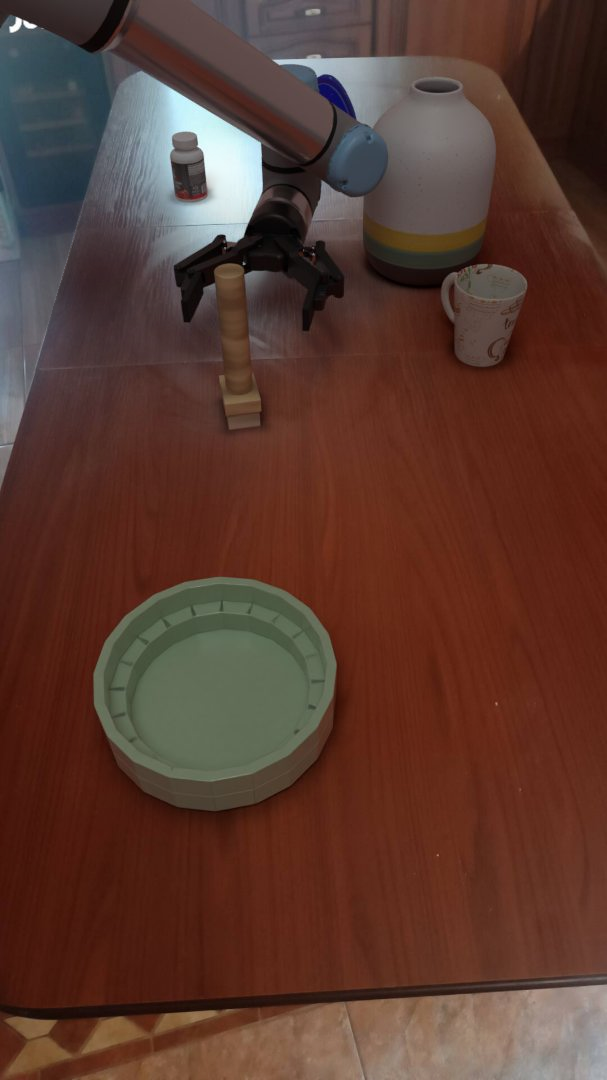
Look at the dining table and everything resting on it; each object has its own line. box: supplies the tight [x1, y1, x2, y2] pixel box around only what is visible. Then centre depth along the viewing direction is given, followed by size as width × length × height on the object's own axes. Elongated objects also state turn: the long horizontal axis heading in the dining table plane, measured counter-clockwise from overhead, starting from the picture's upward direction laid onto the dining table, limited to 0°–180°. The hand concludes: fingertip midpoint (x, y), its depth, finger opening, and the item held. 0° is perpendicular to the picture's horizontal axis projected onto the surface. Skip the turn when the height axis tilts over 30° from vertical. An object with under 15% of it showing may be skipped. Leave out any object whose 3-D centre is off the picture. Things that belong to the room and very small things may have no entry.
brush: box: [214, 264, 262, 431], centre depth 86 cm, size 6×4×18 cm
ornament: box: [317, 73, 358, 121], centre depth 135 cm, size 11×9×15 cm
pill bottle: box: [169, 131, 208, 204], centre depth 130 cm, size 5×5×10 cm
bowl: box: [92, 576, 338, 812], centre depth 64 cm, size 19×19×6 cm
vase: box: [362, 76, 497, 287], centre depth 107 cm, size 17×17×24 cm
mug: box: [440, 263, 528, 368], centre depth 98 cm, size 8×13×10 cm, turn 33°
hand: (244, 316), depth 89 cm, fingers open, 13 cm apart
